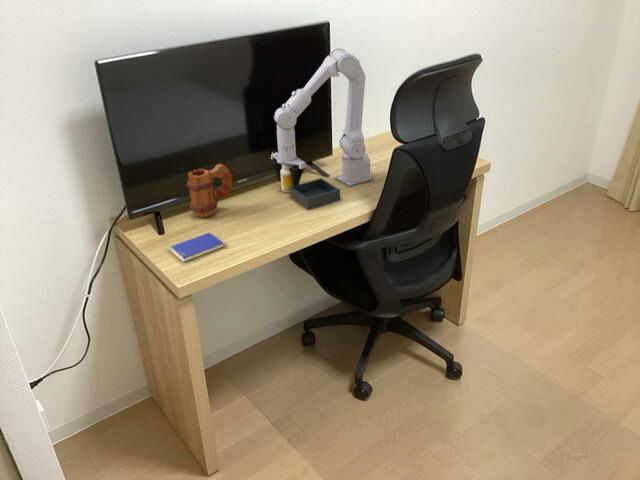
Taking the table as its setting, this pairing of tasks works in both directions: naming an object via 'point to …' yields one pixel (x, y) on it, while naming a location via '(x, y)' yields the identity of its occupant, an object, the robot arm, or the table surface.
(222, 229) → the table surface
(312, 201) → the bin
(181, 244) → the hard drive
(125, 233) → the table surface
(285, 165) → the supplement bottle
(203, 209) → the mug
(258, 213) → the table surface
